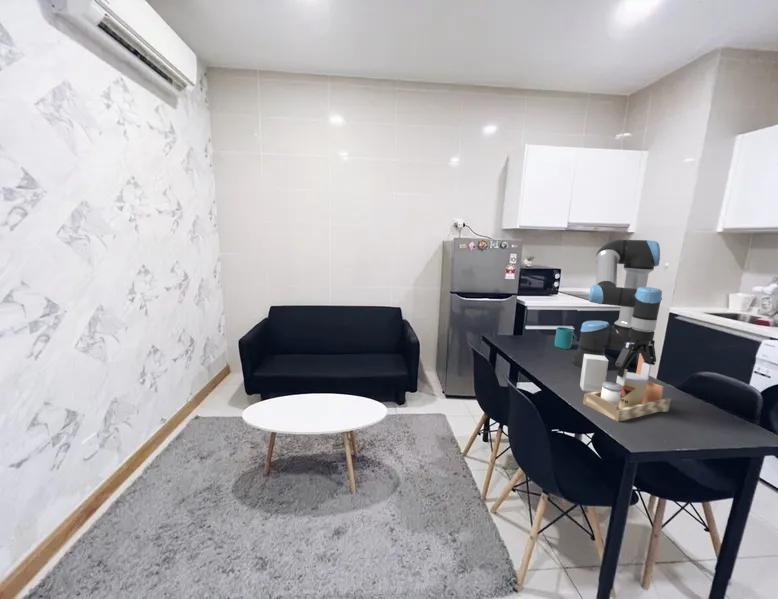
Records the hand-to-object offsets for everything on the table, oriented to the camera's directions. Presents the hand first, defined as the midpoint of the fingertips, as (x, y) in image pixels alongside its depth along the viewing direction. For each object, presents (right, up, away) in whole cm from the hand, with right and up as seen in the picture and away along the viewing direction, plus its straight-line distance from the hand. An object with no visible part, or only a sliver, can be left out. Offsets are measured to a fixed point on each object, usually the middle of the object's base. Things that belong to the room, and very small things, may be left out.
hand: (632, 381), depth 131 cm
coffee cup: (0, -10, +2) cm, 10 cm away
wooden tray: (-2, -10, +1) cm, 11 cm away
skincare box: (-7, -8, +15) cm, 18 cm away
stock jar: (-11, -10, -3) cm, 15 cm away
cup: (+13, +3, +75) cm, 76 cm away
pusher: (+9, -9, +5) cm, 14 cm away
